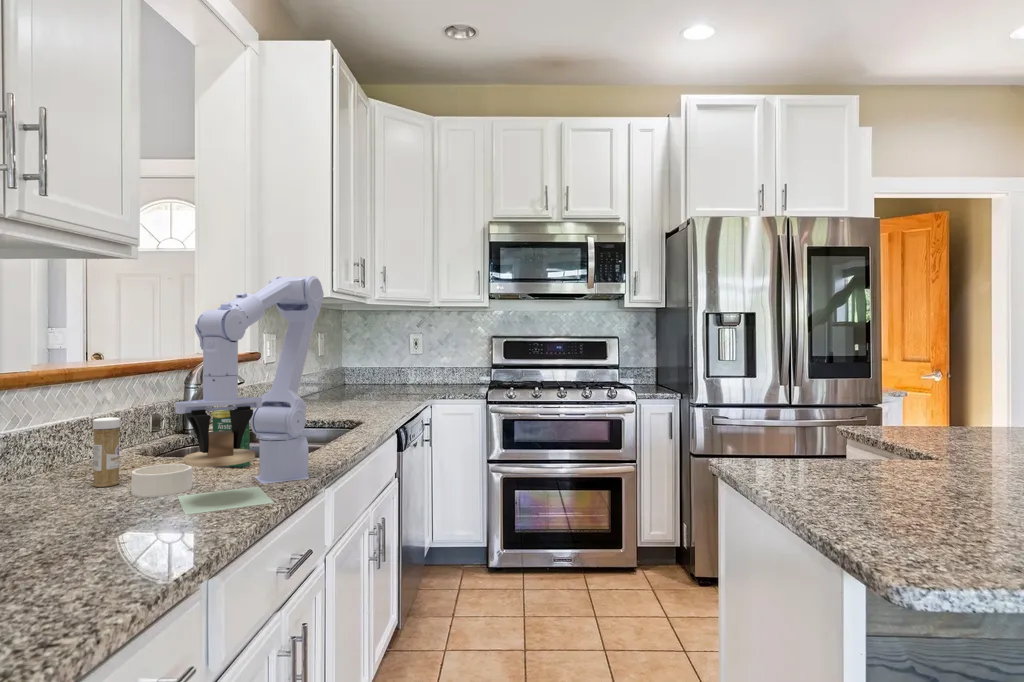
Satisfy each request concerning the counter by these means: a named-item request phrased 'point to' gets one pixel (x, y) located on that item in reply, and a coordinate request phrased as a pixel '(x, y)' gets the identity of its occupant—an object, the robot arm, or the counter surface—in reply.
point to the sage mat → (223, 500)
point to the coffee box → (224, 424)
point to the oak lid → (220, 452)
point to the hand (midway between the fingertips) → (220, 450)
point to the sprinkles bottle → (106, 451)
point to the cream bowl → (161, 480)
